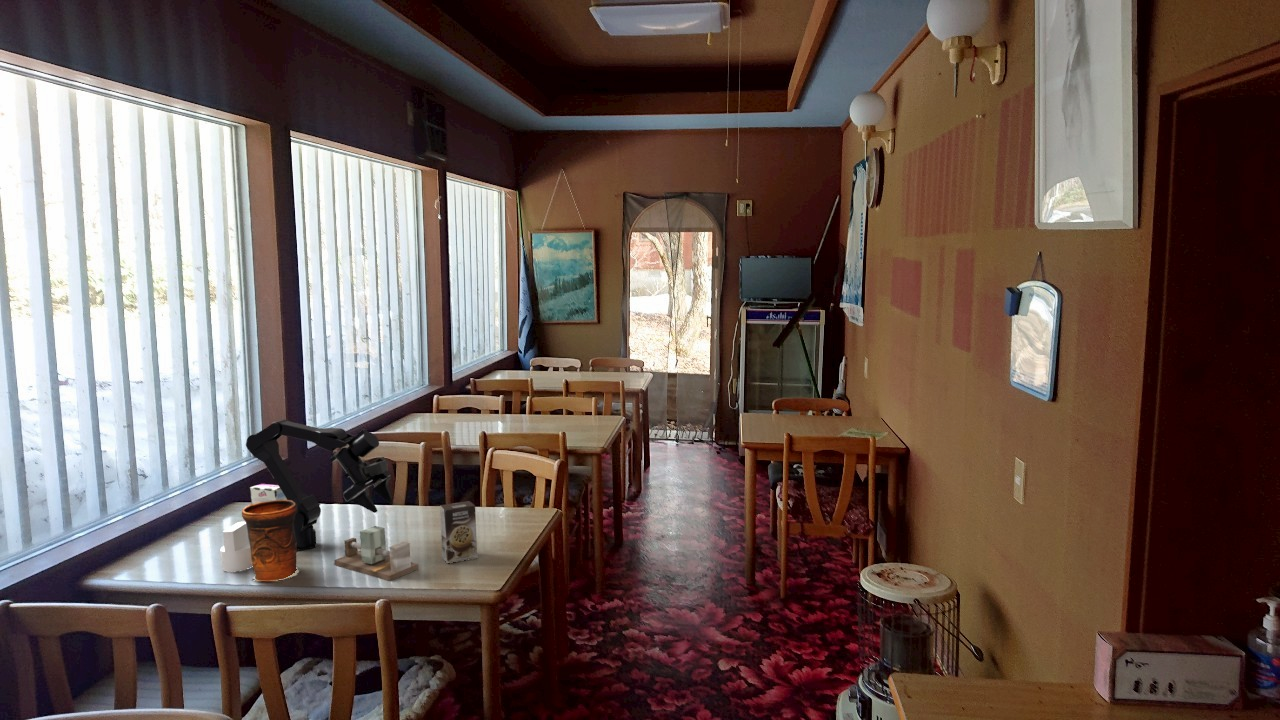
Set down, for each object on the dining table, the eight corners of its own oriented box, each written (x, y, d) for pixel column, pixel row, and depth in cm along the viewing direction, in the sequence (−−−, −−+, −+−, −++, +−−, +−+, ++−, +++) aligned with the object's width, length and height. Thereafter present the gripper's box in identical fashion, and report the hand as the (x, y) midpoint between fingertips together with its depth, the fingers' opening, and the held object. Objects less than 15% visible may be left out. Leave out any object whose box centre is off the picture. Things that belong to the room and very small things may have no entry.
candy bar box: (291, 534, 263) (287, 485, 260) (279, 539, 258) (275, 489, 256) (265, 531, 267) (261, 482, 265) (253, 536, 262) (248, 486, 260)
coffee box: (447, 564, 233) (444, 510, 231) (442, 557, 239) (438, 504, 237) (478, 558, 237) (475, 505, 235) (472, 551, 243) (469, 499, 241)
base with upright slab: (232, 560, 240) (228, 521, 239) (262, 560, 240) (258, 521, 239) (215, 572, 231) (211, 532, 230) (246, 572, 231) (242, 531, 230)
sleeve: (362, 561, 231) (359, 531, 230) (377, 555, 236) (375, 525, 235) (371, 564, 229) (369, 533, 228) (386, 558, 234) (384, 528, 232)
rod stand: (334, 565, 235) (332, 536, 234) (363, 554, 243) (361, 526, 242) (390, 581, 222) (388, 551, 221) (418, 569, 230) (416, 540, 229)
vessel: (237, 585, 221) (232, 514, 219) (258, 567, 235) (254, 499, 233) (290, 583, 222) (286, 512, 220) (309, 565, 236) (305, 498, 234)
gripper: (355, 458, 233) (387, 502, 233) (388, 443, 251) (417, 484, 251) (328, 479, 236) (360, 522, 235) (362, 463, 254) (392, 503, 253)
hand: (384, 507), depth 244 cm, fingers open, 9 cm apart
